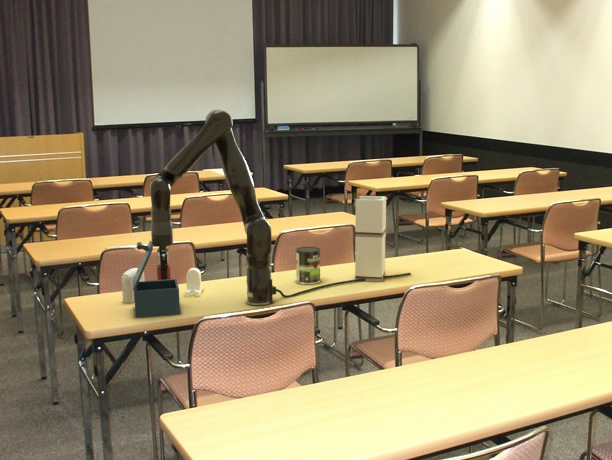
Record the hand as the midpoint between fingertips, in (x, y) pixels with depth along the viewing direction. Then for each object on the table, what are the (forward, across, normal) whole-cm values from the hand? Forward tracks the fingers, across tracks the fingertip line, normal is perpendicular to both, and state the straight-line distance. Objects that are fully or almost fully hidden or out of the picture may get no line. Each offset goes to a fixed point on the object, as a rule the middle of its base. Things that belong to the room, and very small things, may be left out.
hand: (164, 277), depth 278 cm
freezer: (+13, 0, +3) cm, 13 cm away
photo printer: (+13, +17, +11) cm, 24 cm away
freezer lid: (-5, 0, +7) cm, 9 cm away
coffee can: (+13, +25, -60) cm, 66 cm away
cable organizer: (+13, +20, -12) cm, 27 cm away
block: (0, 0, 0) cm, 0 cm away
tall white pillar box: (+13, +23, -87) cm, 91 cm away
